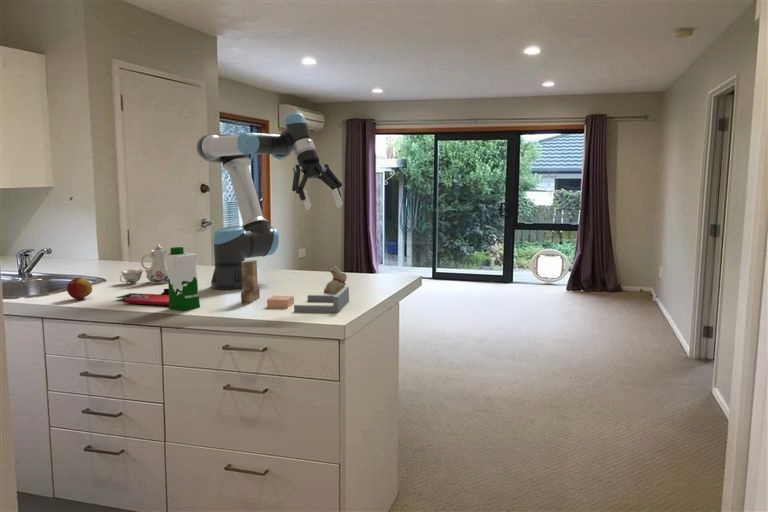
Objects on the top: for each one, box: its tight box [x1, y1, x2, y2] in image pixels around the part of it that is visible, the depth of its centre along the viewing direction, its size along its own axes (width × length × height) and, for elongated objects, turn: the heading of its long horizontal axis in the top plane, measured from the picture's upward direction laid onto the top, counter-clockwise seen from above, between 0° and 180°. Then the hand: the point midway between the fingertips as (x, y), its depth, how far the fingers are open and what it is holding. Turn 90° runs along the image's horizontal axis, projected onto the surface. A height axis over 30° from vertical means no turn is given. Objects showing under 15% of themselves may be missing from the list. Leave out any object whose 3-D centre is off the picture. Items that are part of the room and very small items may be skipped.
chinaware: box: [119, 243, 171, 285], centre depth 253 cm, size 28×17×17 cm, turn 144°
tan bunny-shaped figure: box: [323, 265, 348, 294], centre depth 226 cm, size 6×8×10 cm
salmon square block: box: [266, 295, 295, 309], centre depth 202 cm, size 7×7×3 cm
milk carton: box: [165, 246, 201, 312], centre depth 199 cm, size 9×9×20 cm
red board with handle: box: [114, 288, 169, 306], centre depth 213 cm, size 30×3×15 cm
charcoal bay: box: [293, 286, 350, 313], centre depth 200 cm, size 14×18×5 cm
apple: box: [66, 276, 93, 301], centre depth 217 cm, size 8×8×8 cm
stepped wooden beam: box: [240, 259, 261, 305], centre depth 210 cm, size 4×10×14 cm, turn 172°
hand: (324, 207), depth 213 cm, fingers open, 13 cm apart
